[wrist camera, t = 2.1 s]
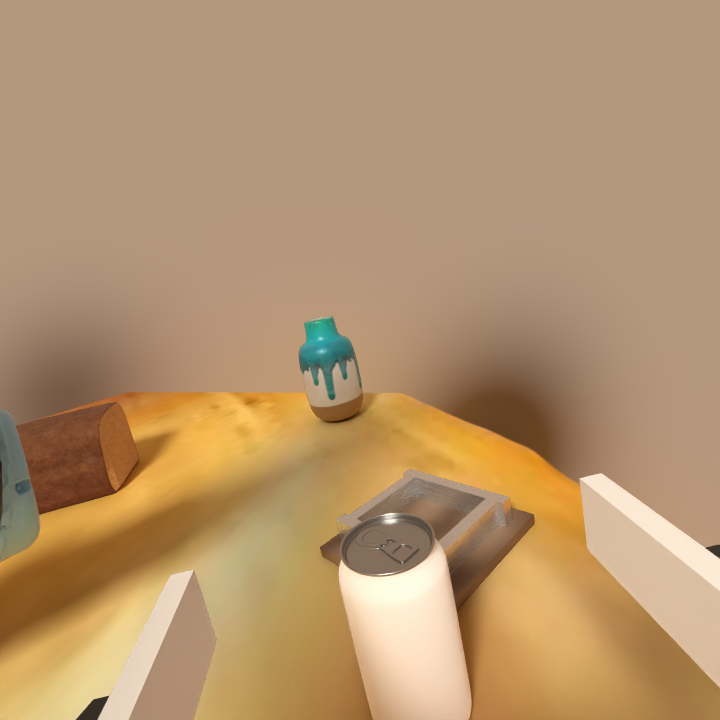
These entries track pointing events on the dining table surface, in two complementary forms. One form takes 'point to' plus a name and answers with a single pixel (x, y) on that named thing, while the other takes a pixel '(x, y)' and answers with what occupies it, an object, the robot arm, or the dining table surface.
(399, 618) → the can
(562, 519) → the dining table surface
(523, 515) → the collar base
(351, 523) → the grey hollow square frame
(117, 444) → the bread
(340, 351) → the vase
